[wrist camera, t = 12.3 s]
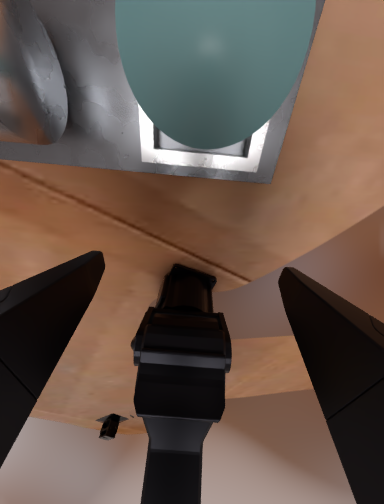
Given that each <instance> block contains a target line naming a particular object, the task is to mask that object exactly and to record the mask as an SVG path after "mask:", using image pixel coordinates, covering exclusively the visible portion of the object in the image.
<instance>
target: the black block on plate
mask: <svg viewBox="0 0 384 504" xmlns="http://www.w3.org/2000/svg"><path fill="white" fill-rule="evenodd" d="M130 416H131V417H132V418H134V416H132V415H130ZM125 420H128V418H125V417H122V416H119V415H116V414H114V413H113V414H110V415H108V416H105V417H103V418H100V419H98V420H95V421H98V422H101V423H103V425H102V428H101V432H100V436H99V438H101V439H104V440H110V439H114V438H115V434H116V432H117V429H118V425H119V423H120V422H123V421H125Z"/></svg>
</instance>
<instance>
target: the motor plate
mask: <svg viewBox="0 0 384 504" xmlns="http://www.w3.org/2000/svg"><path fill="white" fill-rule="evenodd" d="M324 3H325V0H316V6H315V15H314V22H313V29H312V33H311V38H310V42H309V46H308V50H307V53H306V56H305V59H304V62H303V65H302V67H301V70H300V72H299V74H298V76H297V79H296V81H295V83H294V85H293V87H292V88H291V90H290V92H289V94H288V96H287V97H286V99H285V100H284V102H283V103H282V105H281V106H280V108H279V109H278V110H277V111H276V112H275V114H274V115H273V116H272V117H271V118H270V119H269V120H268V121H267V122H266V123H265V124H264V125H263V126H262V127H261V128H260V129H259V130H257V131H256V132H255V133H254V134H252V135H251V136H249V137H248V138H246V139H244V140H243V141H241V142H238V143H236V144H234V145H231V146H228V147H224V148H219V149H197V148H192V147H189V146H186V145H183V144H180V143H178V142H176V141H174V140H173V139H171V138H170V137H168V136H167V135H165V134H164V133H163V132H162V131H160V130H159V129H158V128H157V127H156V126H155V125H154V124H153V123H152V122H151V120H150V119H149V118H148V117H147V116H146V114H145V113H144V111H143V110H142V109H141V107H140V105H139V104H138V102H137V100H136V98H135V97H134V95H133V93H132V90H131V88H130V86H129V83H128V81H127V78H126V75H125V72H124V69H123V66H122V62H121V58H120V53H119V49H118V42H117V35H116V22H115V0H0V159H5V160H16V161H27V162H38V163H48V164H59V165H70V166H81V167H92V168H103V169H113V170H124V171H135V172H146V173H157V174H168V175H178V176H189V177H200V178H211V179H222V180H233V181H243V182H254V183H265V184H271V181H272V177H273V174H274V171H275V167H276V164H277V161H278V157H279V154H280V150H281V147H282V144H283V140H284V137H285V134H286V130H287V127H288V124H289V120H290V117H291V113H292V110H293V107H294V103H295V100H296V97H297V93H298V90H299V87H300V83H301V80H302V76H303V73H304V70H305V66H306V63H307V60H308V56H309V53H310V50H311V46H312V43H313V39H314V36H315V33H316V29H317V26H318V23H319V19H320V16H321V13H322V9H323V6H324Z"/></svg>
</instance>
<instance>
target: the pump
mask: <svg viewBox="0 0 384 504" xmlns="http://www.w3.org/2000/svg"><path fill="white" fill-rule="evenodd" d="M315 6H316V0H115V22H116V35H117V42H118V49H119V53H120V58H121V62H122V66H123V69H124V72H125V75H126V78H127V81H128V83H129V86H130V88H131V90H132V93H133V95H134V97H135V98H136V100H137V102H138V104H139V105H140V107H141V109H142V110H143V111H144V113H145V114H146V116H147V117H148V118H149V119H150V120H151V122H152V123H153V124H154V125H155V126H156V127H157V128H158V129H159V130H160V131H162V132H163V133H164V134H165V135H167V136H168V137H170V138H171V139H173V140H174V141H176V142H178V143H180V144H183V145H186V146H189V147H192V148H197V149H219V148H224V147H228V146H231V145H234V144H236V143H238V142H241V141H243V140H244V139H246V138H248V137H249V136H251V135H252V134H254V133H255V132H256V131H257V130H259V129H260V128H261V127H262V126H263V125H264V124H265V123H266V122H267V121H268V120H269V119H270V118H271V117H272V116H273V115H274V114H275V112H276V111H277V110H278V109H279V108H280V106H281V105H282V103H283V102H284V100H285V99H286V97H287V96H288V94H289V92H290V90H291V88H292V87H293V85H294V83H295V81H296V79H297V76H298V74H299V72H300V70H301V67H302V65H303V62H304V59H305V56H306V53H307V50H308V46H309V42H310V38H311V33H312V29H313V22H314V15H315Z"/></svg>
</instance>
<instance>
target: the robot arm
mask: <svg viewBox="0 0 384 504" xmlns="http://www.w3.org/2000/svg"><path fill="white" fill-rule="evenodd" d="M175 267H177V268H175ZM104 270H105V262H104V257H103V253H102V252H101V251H91V252H88V253H86V254H84V255H81V256H79V257H77V258H74V259H72V260H70V261H67V262H65V263H63V264H60V265H58V266H56V267H54V268H51V269H49V270H47V271H44V272H42V273H40V274H37V275H35V276H33V277H30V278H28V279H26V280H24V281H21V282H19V283H17V284H14V285H13V286H10V287H7V288H5V289H3V290H0V468H1V466H2V464H3V462H4V460H5V459H6V457H7V455H8V453H9V451H10V449H11V448H12V446H13V444H14V442H15V440H16V438H17V437H18V435H19V433H20V431H21V429H22V427H23V425H24V424H25V422H26V420H27V418H28V416H29V415H30V413H31V411H32V409H33V407H34V405H35V404H36V402H37V399H38V398H39V396H40V394H41V392H42V390H43V389H44V387H45V385H46V383H47V381H48V379H49V378H50V376H51V374H52V372H53V370H54V368H55V367H56V365H57V363H58V361H59V359H60V357H61V356H62V354H63V352H64V350H65V348H66V346H67V345H68V343H69V341H70V339H71V337H72V335H73V334H74V332H75V330H76V328H77V326H78V324H79V323H80V321H81V319H82V317H83V315H84V313H85V312H86V310H87V308H88V306H89V304H90V302H91V301H92V299H93V297H94V295H95V292H96V290H97V287H98V285H99V282H100V280H101V278H102V275H103V273H104ZM212 280H214V281H212ZM216 282H217V280H216V278H215V277H213V276H210V275H207V274H204V273H202V272H199V271H196V270H193V269H190V268H187V267H185V266H182V265H179V264H174V265H173V267H172V269H171V271H170V273H169V275H166V276H165V278H164V280H163V282H162V285H161V287H160V290H159V294H158V298H157V302H156V306H155V308H154V307H149V308H148V311H147V312H146V313H145V315H144V318H143V320H142V322H141V324H140V326H139V329H138V331H137V333H136V336H135V337H134V338H133V340H132V342H131V348H132V349H133V351H134V366H138V372H137V379H136V386H135V394H134V405H135V410H136V414H137V416H138V417H142V418H143V421H144V424H145V427H146V430H147V433H148V436H149V443H148V452H147V459H146V467H145V475H144V482H143V490H142V497H141V504H201V477H202V475H201V474H202V448H203V441H204V439H205V437H206V435H207V433H208V431H209V429H210V427H211V425H212V424H213V422H215V423H218V422H219V421H220V419H221V416H222V414H223V411H224V409H225V373H229V371H230V367H231V358H232V350H231V339H230V335H229V331H228V328H227V325H226V322H225V318H224V315H223V313H220V312H218V313H213V301H212V288H213V287H214V285H215V284H216ZM278 284H279V288H280V292H281V297H282V301H283V305H284V308H285V312H286V315H287V317H288V320H289V323H290V325H291V328H292V331H293V334H294V336H295V339H296V342H297V344H298V347H299V350H300V352H301V355H302V358H303V360H304V363H305V366H306V368H307V371H308V374H309V377H310V379H311V382H312V385H313V387H314V390H315V392H316V395H317V398H318V401H319V403H320V406H321V408H322V411H323V414H324V416H325V419H326V420H327V421H326V422H327V425H328V428H329V431H330V433H331V436H332V439H333V441H334V444H335V447H336V449H337V452H338V455H339V457H340V460H341V463H342V466H343V468H344V471H345V474H346V476H347V479H348V482H349V484H350V487H351V490H352V492H353V495H354V498H355V500H356V503H357V504H384V323H382V322H381V321H379V320H377V319H376V318H374V317H373V316H370V315H369V314H368V313H366V312H364V311H363V310H361V309H360V308H358V307H356V306H355V305H353V304H351V303H350V302H348V301H347V300H345V299H343V298H342V297H340V296H338V295H337V294H335V293H334V292H332V291H331V290H329V289H327V288H326V287H324V286H323V285H321V284H319V283H318V282H316V281H314V280H313V279H311V278H310V277H308V276H306V275H305V274H303V273H302V272H300V271H298V270H297V269H295V268H293V267H285V268H284V269H283V271H282V273H281V276H280V278H279V281H278Z"/></svg>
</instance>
